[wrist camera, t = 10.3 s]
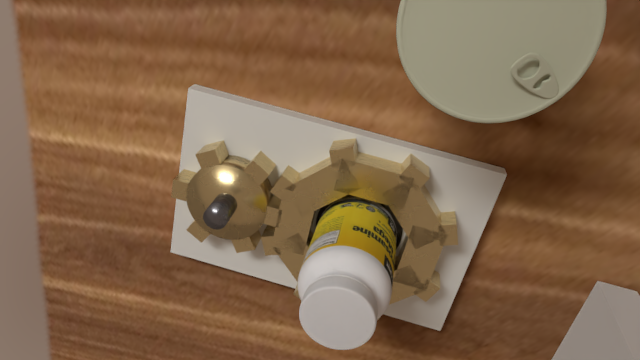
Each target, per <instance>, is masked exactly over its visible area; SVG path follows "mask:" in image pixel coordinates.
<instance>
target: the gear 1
mask: <svg viewBox="0 0 640 360" xmlns="http://www.w3.org/2000/svg"><path fill="white" fill-rule="evenodd" d="M195 155H196V157H197V160H198V162H199V164H200V167H201V169H200V170H199V171H198V172H197V173H196V172H193V171H189V170H186V169H183V170H182V171H181V172H180V173H179V174H178V175H177V176H176V177H175V178H174V179H173V186H172V196H171V197H172V198H176V199H179V200H183V201H187V206H188V209H189V211H190V213H191V215H192V217H193V218H194V221H193V222H192V223H191V224H190V226H189V227H188V228H187V229H186V230H187V231H188V232H189V233H190V234H192V235H193V236H194V237H195V238H196V239H197V240H199V241H200V242H201V243H202V242H203V241H204V240H205V239H206V238H207V237H208V236H209V235H210V234H212V235H214V236H216V237H219V238H222V239H228V240H231V241H232V243H233V246H234V248H235V250H236V253H240V252H246V251H251V250H255V248H256V247H257V245H258V243H259V241H260V239H261V234H260V231H259V228H260V227H261V226H262V224H263V223H264V224H266V225H270V226H273V227H277V226H279V224H280V222H279V221H280V219H281V217H280V216H281V214H282V212H280V213H281V214H280V213H279V211H282V210H280V209H279V208H280V203H281V199H279V198H278V197H277V196H275V195H273V194H272V193H271V192H270V191H271V189H272V186H271V183H270V181H269V179H268V176H269V175H270V174H271V172H272V170H273V169H274V167H275V166H276V164H275V163H274V162H273V161H272V160H271V159H269V158H268V157H267V156H266V155H265V154H264V153H263V152H262V151H260V152H259V153H258V154H257V155H256V156H255V157H254V158H253V159H252V160H251V161H250V160H248V159H246V158H243V157H239V156H235V155H229V153H228V150H227V147H226V145H225V142H224V140H223V141H219V142H215V143H211V144H207V145H205V146H204V147H203V148H201V149H200V150H199V151H198V152H197V153H196V154H195ZM278 216H279V218H278ZM277 220H279V221H278V222H279V223H278V222H277ZM276 225H277V226H276ZM278 228H279V227H278Z"/></svg>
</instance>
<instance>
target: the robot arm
mask: <svg viewBox="0 0 640 360" xmlns="http://www.w3.org/2000/svg"><path fill="white" fill-rule="evenodd" d="M552 360H640V296H639V294H638V292H637V291H633V290H630V289H626V288H622V287H618V286H615V285H611V284H607V283H604V282H600V281H597V283H596V284H595V286H594V288H593V289H592V291H591V293H590V295H589V296H588V298H587V300H586V301H585V303H584V305H583V307H582V308H581V310H580V312H579V313H578V315H577V317H576V319H575V320H574V322H573V324H572V325H571V327H570V329H569V331H568V332H567V334H566V336H565V337H564V339H563V341H562V343H561V344H560V346H559V348H558V350H557V351H556V353H555V355H554V356H553V358H552Z"/></svg>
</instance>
